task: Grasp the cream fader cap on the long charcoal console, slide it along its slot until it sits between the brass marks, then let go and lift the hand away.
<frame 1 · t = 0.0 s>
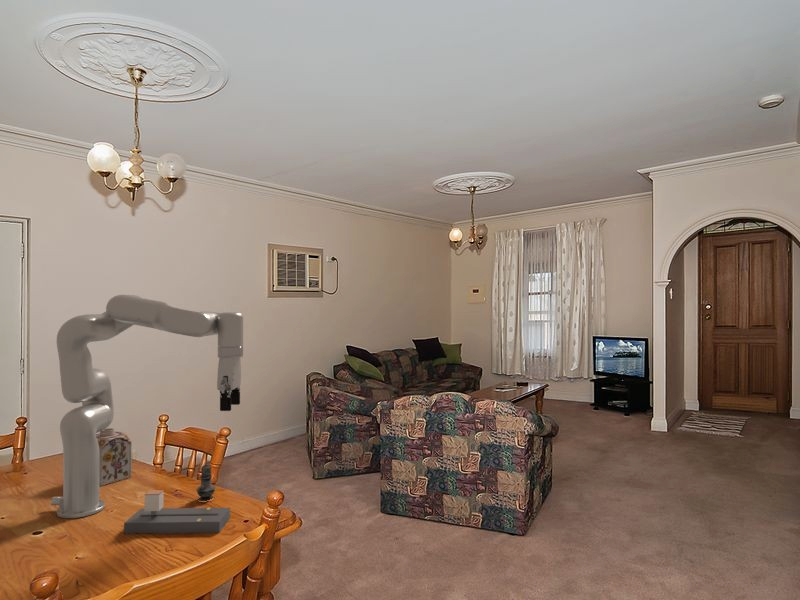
hand: (230, 407, 162), 31 cm above the table, tool pointing down, fingers open, 9 cm apart
fader: (154, 503, 149), point 6 cm above the table, slide at -7.0 cm
decorative jar: (107, 479, 189), on the table
dark chess piece: (205, 500, 170), on the table
console: (178, 525, 150), on the table
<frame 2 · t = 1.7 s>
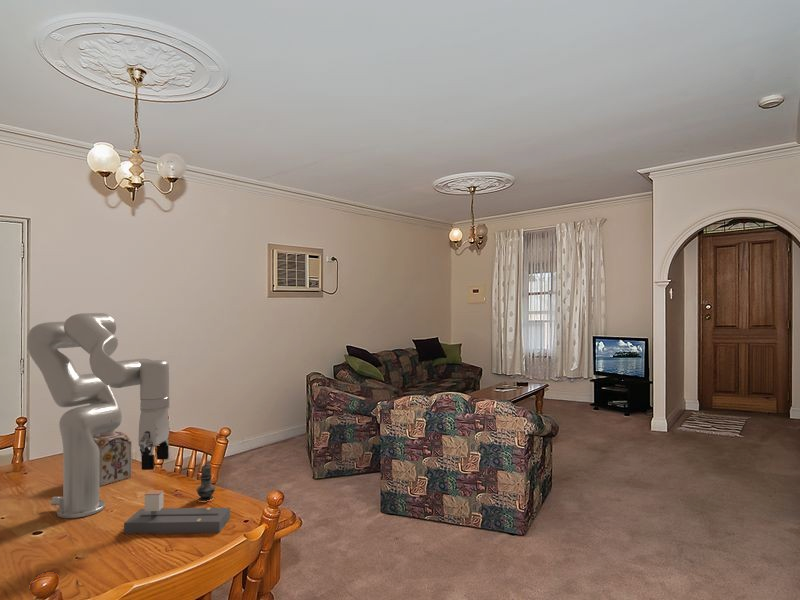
hand: (155, 464, 149), 18 cm above the table, tool pointing down, fingers open, 9 cm apart
nothing on the table moved.
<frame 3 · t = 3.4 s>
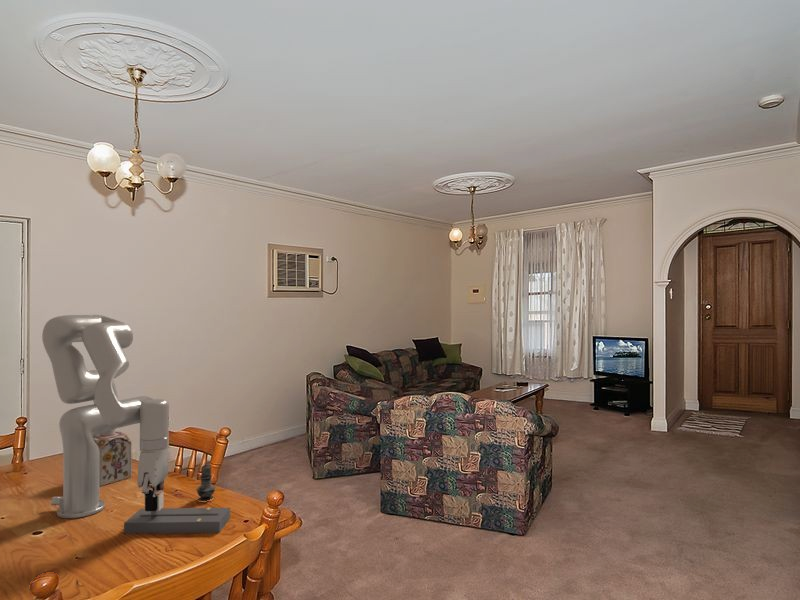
hand: (154, 507, 149), 5 cm above the table, tool pointing down, fingers closed on fader, 3 cm apart
fader: (154, 503, 149), point 6 cm above the table, slide at -7.0 cm, touching gripper
everything else where it was.
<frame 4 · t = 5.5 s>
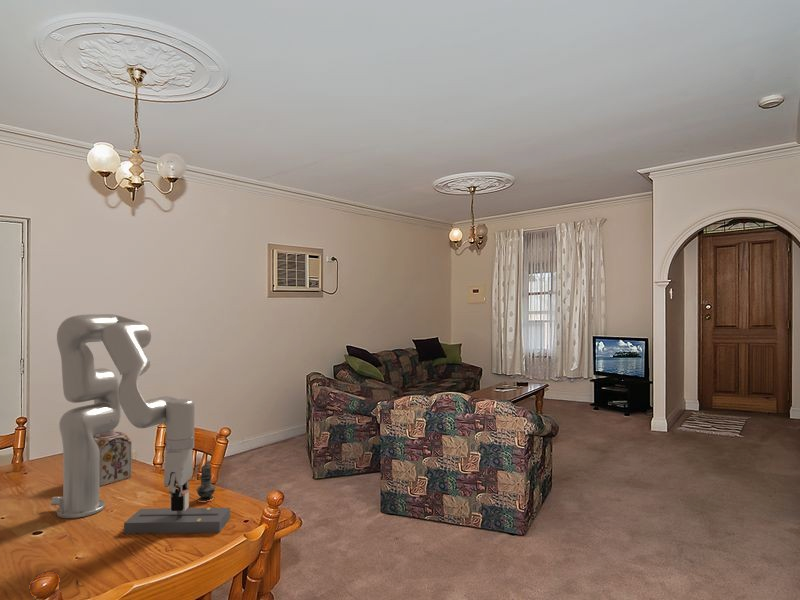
hand: (179, 507, 150), 5 cm above the table, tool pointing down, fingers closed on fader, 3 cm apart
fader: (179, 502, 150), point 6 cm above the table, slide at 0.2 cm, touching gripper
everything else where it was.
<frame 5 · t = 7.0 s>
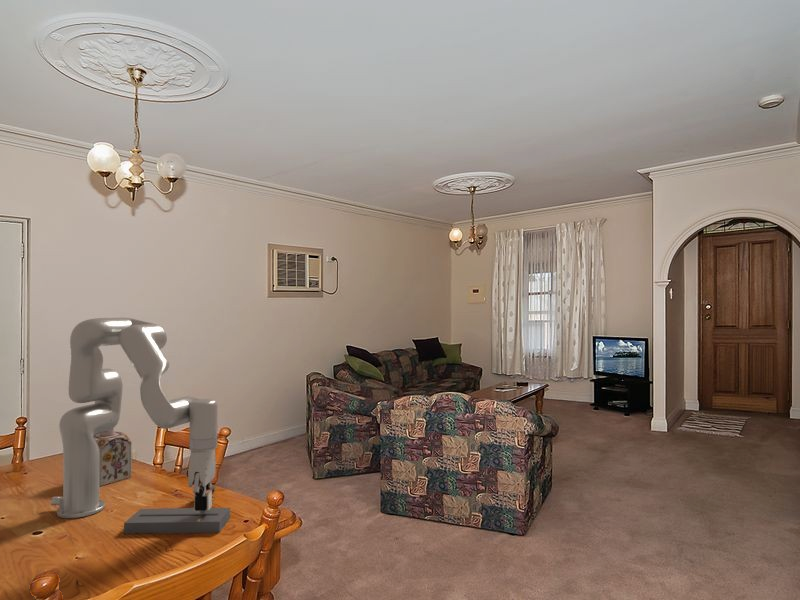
hand: (203, 506, 150), 5 cm above the table, tool pointing down, fingers closed on fader, 3 cm apart
fader: (203, 502, 150), point 6 cm above the table, slide at 6.8 cm, touching gripper
everything else where it was.
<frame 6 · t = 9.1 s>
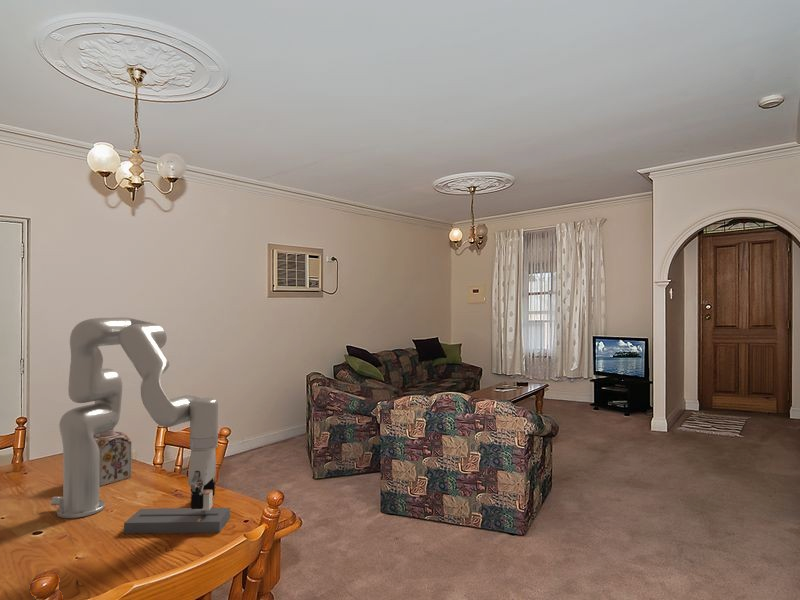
hand: (203, 501, 150), 7 cm above the table, tool pointing down, fingers open, 9 cm apart
fader: (203, 502, 150), point 6 cm above the table, slide at 7.0 cm
everything else where it was.
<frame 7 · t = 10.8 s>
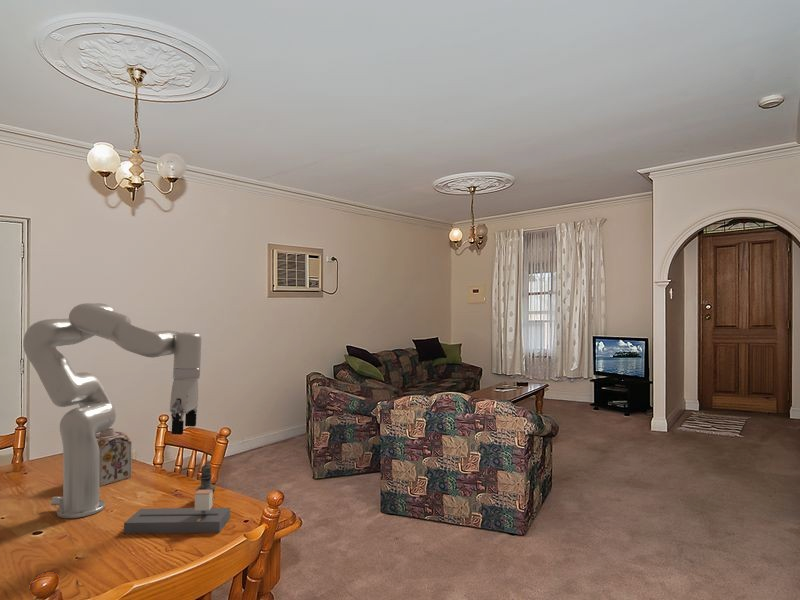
hand: (184, 430, 159), 25 cm above the table, tool pointing down, fingers open, 9 cm apart
nothing on the table moved.
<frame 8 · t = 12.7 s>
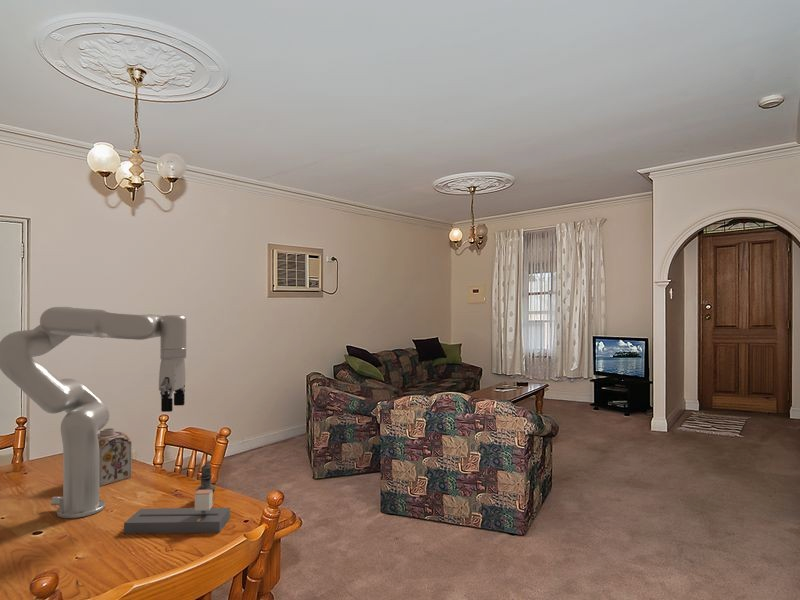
hand: (173, 408, 165), 30 cm above the table, tool pointing down, fingers open, 9 cm apart
nothing on the table moved.
at the end: fader slide at 7.0 cm; the gripper is holding nothing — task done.
